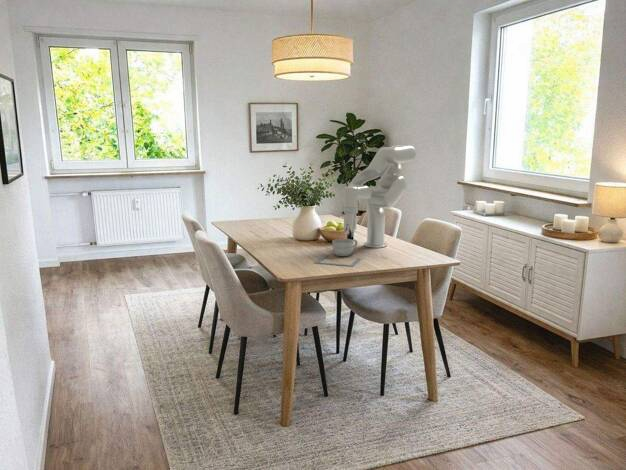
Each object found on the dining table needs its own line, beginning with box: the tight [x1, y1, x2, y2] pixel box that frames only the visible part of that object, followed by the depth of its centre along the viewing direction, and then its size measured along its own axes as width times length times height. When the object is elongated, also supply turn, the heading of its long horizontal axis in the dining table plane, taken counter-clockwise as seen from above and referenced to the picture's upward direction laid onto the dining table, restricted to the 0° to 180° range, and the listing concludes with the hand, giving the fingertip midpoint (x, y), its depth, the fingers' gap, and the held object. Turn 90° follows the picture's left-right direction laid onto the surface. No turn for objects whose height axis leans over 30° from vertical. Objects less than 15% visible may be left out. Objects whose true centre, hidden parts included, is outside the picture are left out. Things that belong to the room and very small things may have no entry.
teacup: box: [331, 238, 359, 257], centre depth 267 cm, size 14×11×8 cm
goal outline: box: [313, 255, 362, 268], centre depth 255 cm, size 16×20×1 cm
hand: (350, 244), depth 276 cm, fingers closed
